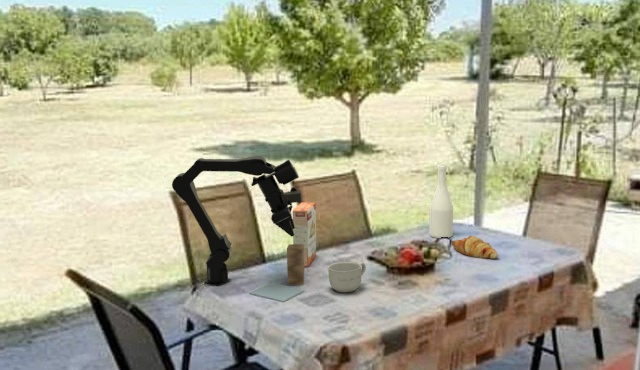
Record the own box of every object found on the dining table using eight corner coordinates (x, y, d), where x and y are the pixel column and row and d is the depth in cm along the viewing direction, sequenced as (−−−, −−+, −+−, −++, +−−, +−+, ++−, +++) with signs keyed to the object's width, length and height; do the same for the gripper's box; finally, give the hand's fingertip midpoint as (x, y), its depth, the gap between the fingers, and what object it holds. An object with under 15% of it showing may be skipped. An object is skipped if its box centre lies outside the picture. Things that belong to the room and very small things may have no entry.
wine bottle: (429, 238, 267) (430, 166, 262) (429, 232, 277) (430, 162, 271) (452, 239, 266) (454, 166, 260) (452, 233, 275) (453, 162, 269)
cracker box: (309, 267, 234) (308, 210, 230) (293, 266, 235) (291, 210, 231) (317, 256, 247) (316, 201, 243) (301, 255, 248) (300, 201, 244)
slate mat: (248, 293, 209) (248, 292, 209) (270, 283, 218) (270, 282, 217) (283, 302, 201) (283, 301, 201) (304, 291, 210) (304, 290, 210)
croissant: (501, 267, 240) (508, 247, 241) (487, 260, 234) (495, 239, 235) (455, 254, 256) (462, 235, 257) (441, 247, 250) (448, 227, 251)
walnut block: (287, 285, 216) (286, 248, 214) (289, 280, 221) (288, 244, 219) (302, 285, 216) (301, 248, 213) (304, 280, 221) (303, 244, 218)
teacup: (338, 297, 204) (338, 272, 202) (322, 287, 213) (321, 263, 212) (376, 289, 210) (376, 265, 209) (359, 280, 220) (358, 257, 218)
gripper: (292, 185, 205) (315, 228, 208) (293, 175, 224) (314, 215, 226) (261, 201, 206) (284, 244, 209) (265, 190, 224) (286, 229, 227)
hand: (293, 232), depth 218 cm, fingers open, 9 cm apart
